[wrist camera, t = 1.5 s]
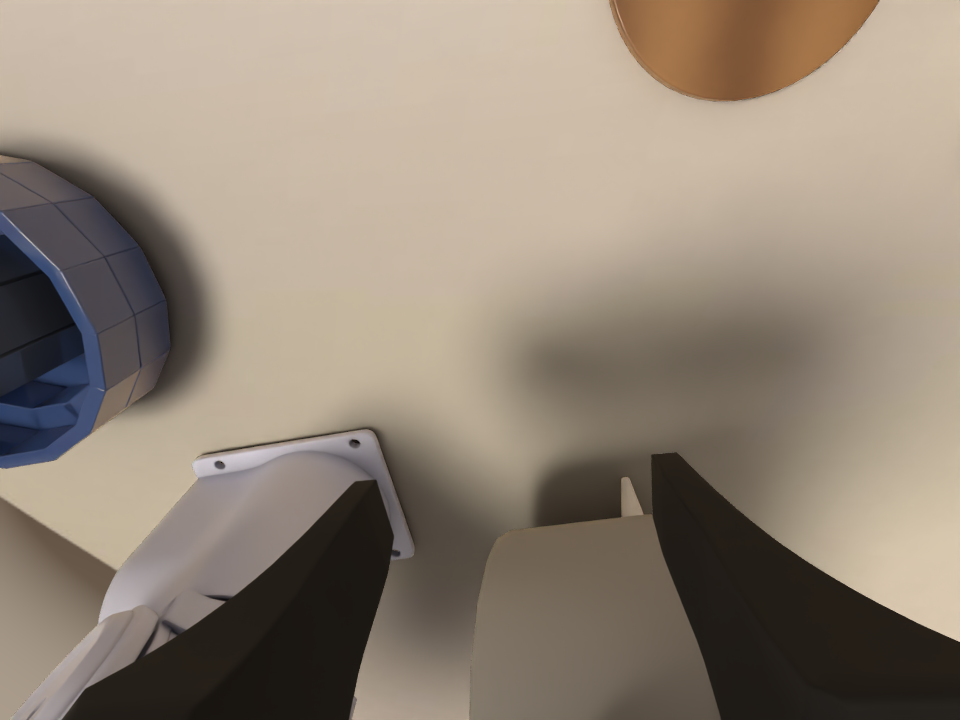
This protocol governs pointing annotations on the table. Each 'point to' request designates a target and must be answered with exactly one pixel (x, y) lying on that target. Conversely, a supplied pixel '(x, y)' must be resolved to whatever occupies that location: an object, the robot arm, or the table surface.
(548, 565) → the alarm clock
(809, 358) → the table surface
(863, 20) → the coaster
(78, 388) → the bowl
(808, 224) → the table surface
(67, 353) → the cup
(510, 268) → the table surface
